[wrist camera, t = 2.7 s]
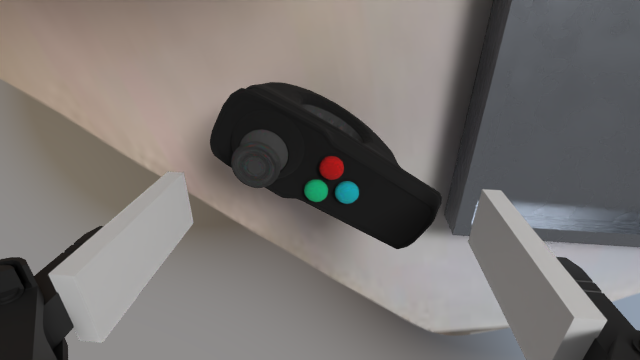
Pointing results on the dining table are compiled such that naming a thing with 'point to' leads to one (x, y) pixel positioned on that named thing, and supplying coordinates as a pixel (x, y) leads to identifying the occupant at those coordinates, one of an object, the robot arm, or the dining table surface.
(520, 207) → the tray
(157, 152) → the dining table surface
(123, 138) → the dining table surface
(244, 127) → the controller
